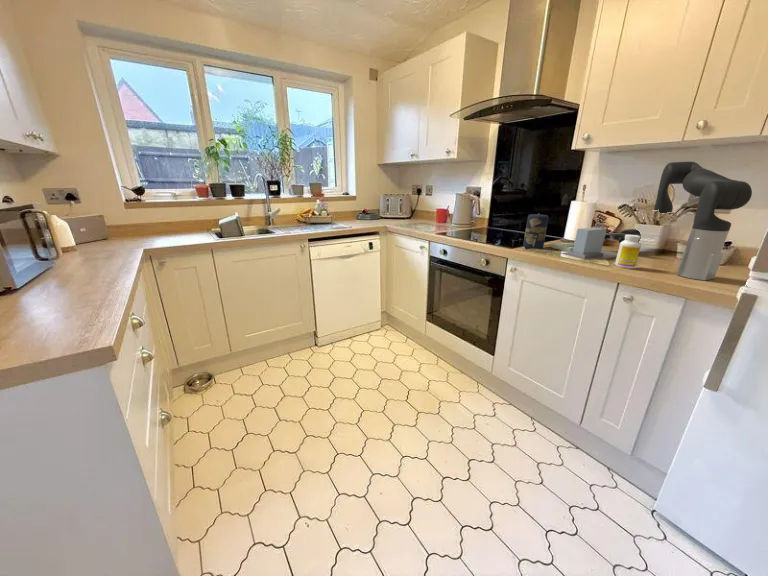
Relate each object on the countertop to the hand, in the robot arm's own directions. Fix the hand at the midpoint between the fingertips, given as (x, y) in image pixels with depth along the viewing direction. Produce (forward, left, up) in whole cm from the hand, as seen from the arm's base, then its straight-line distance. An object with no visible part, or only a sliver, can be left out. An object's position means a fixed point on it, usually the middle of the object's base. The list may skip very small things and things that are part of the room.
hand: (610, 238), depth 145 cm
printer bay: (0, +9, -8) cm, 11 cm away
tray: (+13, +6, -8) cm, 16 cm away
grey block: (0, +14, -7) cm, 16 cm away
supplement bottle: (-18, +16, -8) cm, 25 cm away
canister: (+23, +22, -8) cm, 33 cm away
